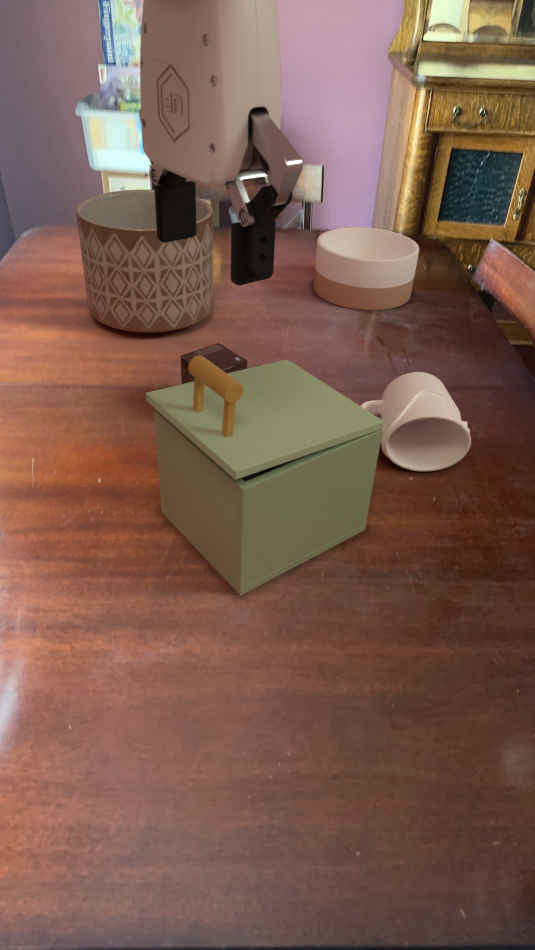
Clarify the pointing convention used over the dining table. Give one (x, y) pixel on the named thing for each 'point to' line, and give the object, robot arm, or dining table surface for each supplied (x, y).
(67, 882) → the dining table surface
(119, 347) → the dining table surface
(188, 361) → the box
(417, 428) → the mug
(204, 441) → the lid
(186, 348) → the dining table surface
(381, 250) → the bowl
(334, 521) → the chest
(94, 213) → the planter
